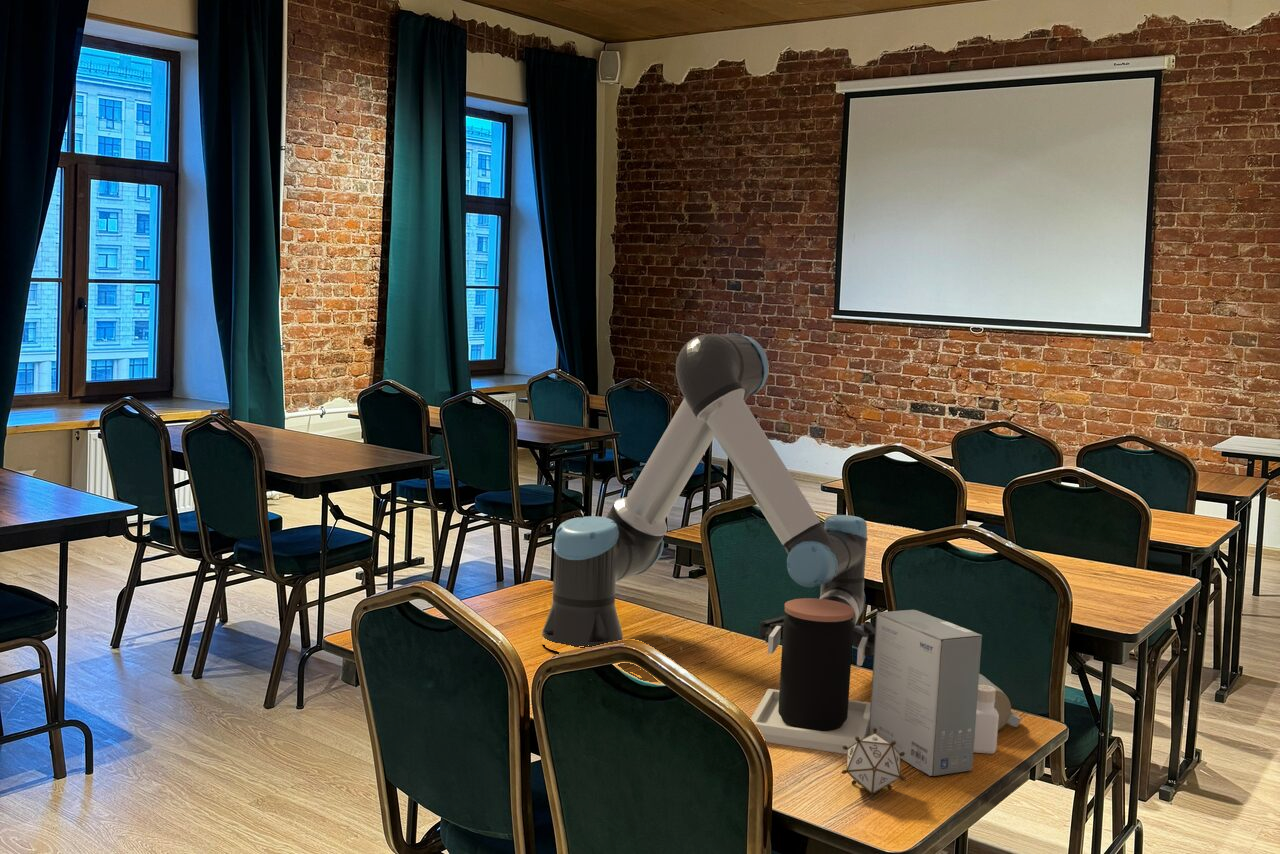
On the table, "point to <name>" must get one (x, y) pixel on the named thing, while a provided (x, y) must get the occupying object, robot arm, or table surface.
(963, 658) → the hard drive box
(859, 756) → the game die
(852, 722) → the tray
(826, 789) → the table surface
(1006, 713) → the ceramic mug
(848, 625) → the coffee jar
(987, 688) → the pepper shaker
